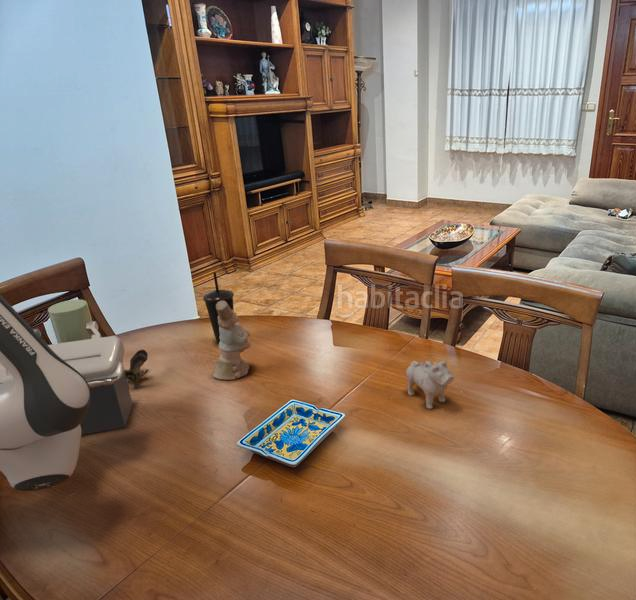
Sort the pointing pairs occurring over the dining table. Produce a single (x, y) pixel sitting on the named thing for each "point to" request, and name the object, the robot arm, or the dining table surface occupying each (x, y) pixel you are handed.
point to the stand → (108, 407)
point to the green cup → (70, 320)
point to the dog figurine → (429, 379)
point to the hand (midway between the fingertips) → (64, 327)
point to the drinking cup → (211, 302)
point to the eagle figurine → (137, 367)
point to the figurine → (230, 344)
